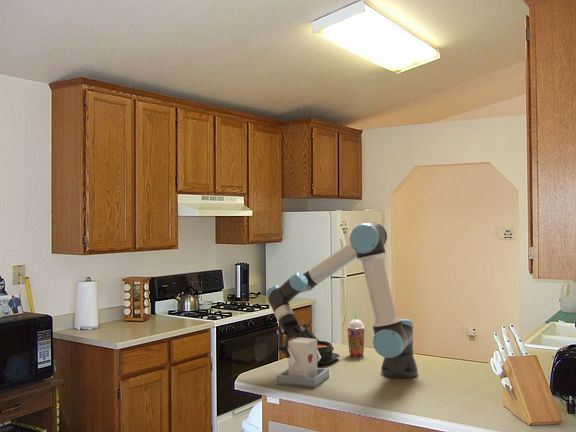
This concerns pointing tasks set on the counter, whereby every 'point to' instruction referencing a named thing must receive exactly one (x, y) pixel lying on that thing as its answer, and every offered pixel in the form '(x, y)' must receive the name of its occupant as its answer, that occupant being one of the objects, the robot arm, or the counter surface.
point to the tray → (303, 379)
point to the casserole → (326, 352)
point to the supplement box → (303, 357)
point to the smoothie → (356, 337)
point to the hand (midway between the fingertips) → (306, 361)
